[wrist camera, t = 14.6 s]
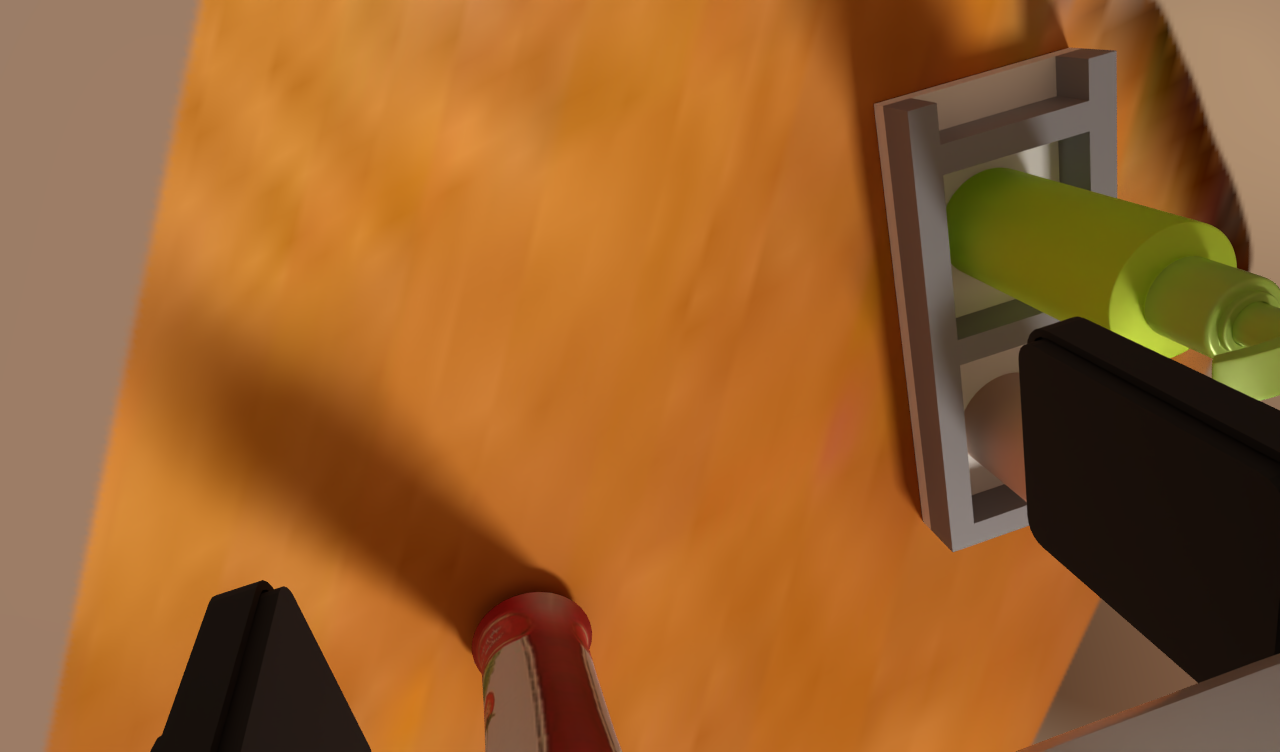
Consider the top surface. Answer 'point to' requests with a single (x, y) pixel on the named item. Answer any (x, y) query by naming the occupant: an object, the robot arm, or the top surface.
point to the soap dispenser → (1119, 271)
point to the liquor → (540, 678)
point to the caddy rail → (961, 305)
